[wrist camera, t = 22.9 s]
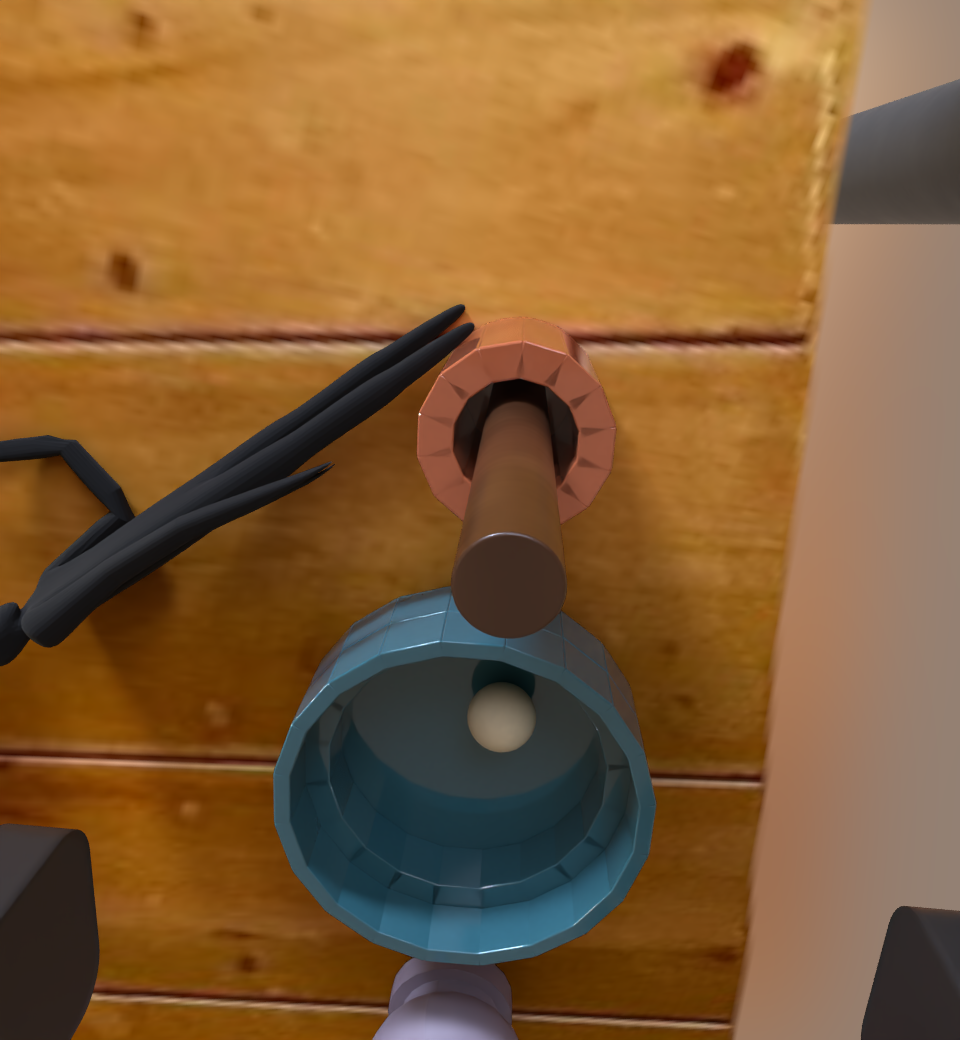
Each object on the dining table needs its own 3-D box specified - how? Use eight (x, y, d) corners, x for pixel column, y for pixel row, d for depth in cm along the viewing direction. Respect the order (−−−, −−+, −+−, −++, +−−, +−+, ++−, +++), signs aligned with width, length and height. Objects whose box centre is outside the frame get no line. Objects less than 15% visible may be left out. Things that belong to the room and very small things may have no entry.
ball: (540, 745, 37) (528, 761, 39) (542, 676, 38) (530, 696, 41) (469, 739, 36) (462, 756, 39) (473, 670, 38) (466, 690, 40)
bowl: (656, 595, 39) (678, 659, 33) (617, 881, 44) (631, 980, 38) (307, 568, 39) (270, 627, 33) (308, 854, 44) (275, 948, 38)
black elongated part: (358, 157, 27) (-221, 578, 31) (503, 374, 32) (-19, 717, 36) (348, 123, 34) (-126, 471, 38) (468, 305, 38) (34, 599, 42)
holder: (604, 320, 35) (626, 347, 27) (588, 479, 37) (603, 544, 29) (444, 310, 35) (421, 333, 28) (436, 467, 37) (413, 530, 30)
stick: (547, 368, 35) (572, 536, 16) (543, 422, 36) (562, 643, 17) (493, 365, 35) (452, 529, 16) (489, 418, 36) (447, 635, 17)
